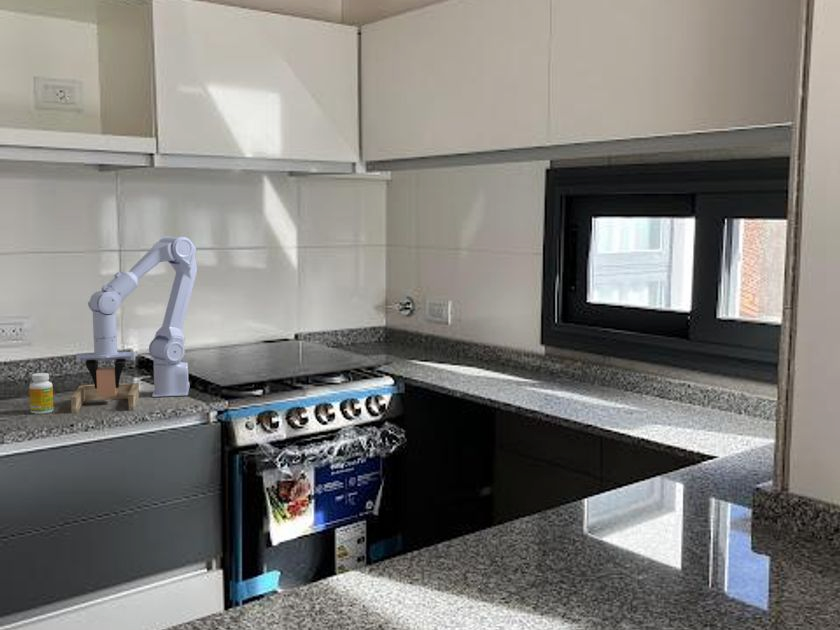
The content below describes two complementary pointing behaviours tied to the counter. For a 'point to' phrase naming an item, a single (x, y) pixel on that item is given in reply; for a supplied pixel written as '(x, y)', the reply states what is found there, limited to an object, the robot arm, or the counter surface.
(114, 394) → the block
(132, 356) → the robot arm
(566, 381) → the counter surface
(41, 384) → the supplement bottle
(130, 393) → the wooden u-shaped frame
